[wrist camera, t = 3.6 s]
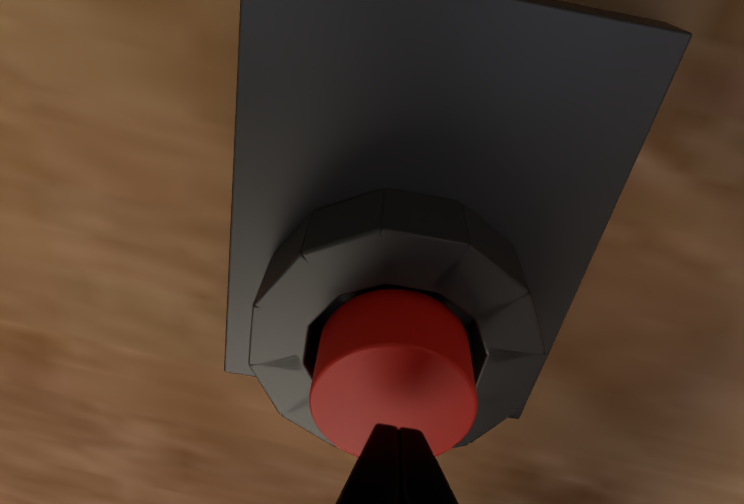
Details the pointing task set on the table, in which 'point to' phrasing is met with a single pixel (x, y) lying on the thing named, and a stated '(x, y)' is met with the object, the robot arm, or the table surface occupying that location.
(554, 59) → the button block
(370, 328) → the release button
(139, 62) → the table surface
